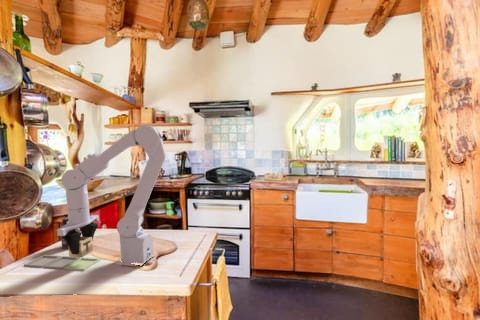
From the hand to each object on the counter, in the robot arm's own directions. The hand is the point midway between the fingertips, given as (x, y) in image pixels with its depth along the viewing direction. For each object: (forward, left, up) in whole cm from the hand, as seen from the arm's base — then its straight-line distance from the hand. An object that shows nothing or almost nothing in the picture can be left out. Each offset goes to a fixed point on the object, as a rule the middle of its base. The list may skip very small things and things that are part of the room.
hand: (81, 250), depth 85 cm
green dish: (0, 0, -5) cm, 5 cm away
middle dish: (+7, 0, -5) cm, 9 cm away
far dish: (+15, 0, -5) cm, 16 cm away
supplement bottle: (+16, -13, -5) cm, 21 cm away
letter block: (0, 0, -1) cm, 1 cm away
